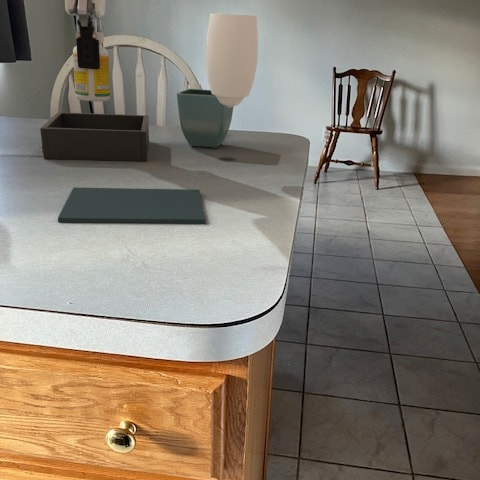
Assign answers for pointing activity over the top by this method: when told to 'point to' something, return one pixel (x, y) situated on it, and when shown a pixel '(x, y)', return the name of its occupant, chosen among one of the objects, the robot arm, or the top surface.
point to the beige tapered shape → (231, 56)
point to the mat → (133, 206)
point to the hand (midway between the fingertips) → (91, 65)
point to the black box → (96, 137)
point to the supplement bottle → (93, 77)
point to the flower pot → (203, 117)
